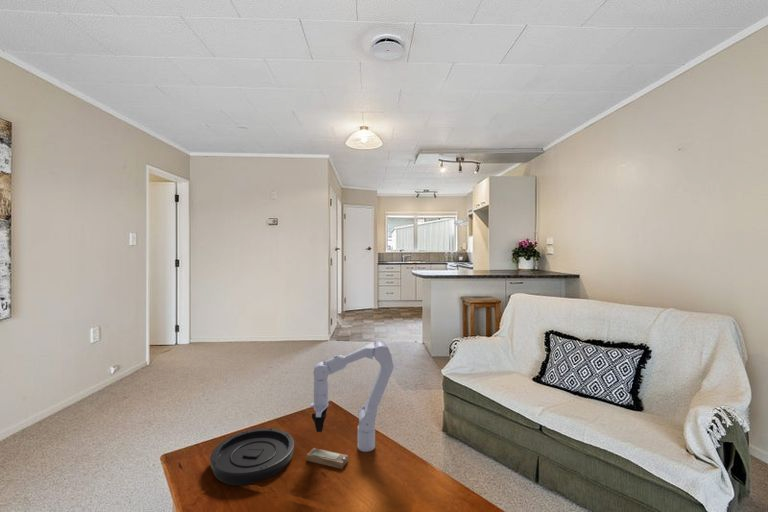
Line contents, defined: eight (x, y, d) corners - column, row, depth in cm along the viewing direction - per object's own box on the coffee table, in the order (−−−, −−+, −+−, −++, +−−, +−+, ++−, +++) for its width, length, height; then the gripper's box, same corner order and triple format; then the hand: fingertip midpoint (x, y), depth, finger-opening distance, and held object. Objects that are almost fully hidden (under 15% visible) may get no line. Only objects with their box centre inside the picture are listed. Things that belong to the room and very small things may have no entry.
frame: (313, 453, 135) (313, 446, 135) (348, 461, 130) (348, 454, 130) (306, 460, 131) (306, 453, 130) (343, 469, 126) (343, 462, 126)
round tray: (275, 492, 115) (304, 443, 145) (275, 475, 115) (304, 429, 145) (191, 486, 118) (237, 439, 148) (191, 469, 118) (237, 425, 148)
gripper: (313, 386, 145) (313, 418, 145) (307, 401, 130) (307, 436, 131) (330, 385, 145) (330, 417, 145) (326, 400, 131) (326, 436, 131)
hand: (320, 426), depth 138 cm, fingers open, 7 cm apart
